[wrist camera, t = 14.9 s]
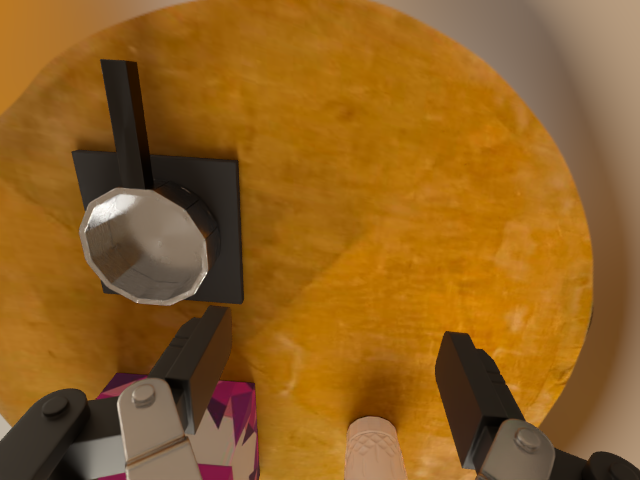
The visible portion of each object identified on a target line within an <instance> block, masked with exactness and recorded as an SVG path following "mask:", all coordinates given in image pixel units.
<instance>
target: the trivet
mask: <svg viewBox="0 0 640 480" xmlns="http://www.w3.org/2000/svg"><path fill="white" fill-rule="evenodd" d="M72 156H73V161H74V165H75V169H76V174H77V178H78V182H79V187H80V191H81V196H82V200H83V204H84V209H85V212H86V210H87V207H88V204H89V203H90V202H91V201H93V200H95V199H97V198H98V197H100V196H102V195H104V194H106V193H107V192H109V191H111V190H113V189H114V188H116V187H119V186H121V185H122V180H121V174H120V169H119V163H118V157H117V152H102V151H87V150H76V151H72ZM150 160H151V167H152V174H153V178H160V179H166V180H170V181H174V182H176V183H179V184H181V185H183V186H185V187H187V188H188V189H190V190H191V191H193V192H194V193H195V194H197V195H198V196H199V197H200V198H201V199H202V200H203V201H204V202H205V203H206V204H207V206H208V207H209V208H210V210H211V211H212V213H213V215H214V216H215V218H216V221H217V223H218V226H219V230H220V235H221V249H220V256H219V258H218V260H217V262H216V264H215V265H214V266H213V268H212V270H211V271H210V273H209V275H208V276H207V278H206V279H205V281H204V282H203V283H202V285H201V286H200V288H199V289H198V290H197V292H196V293H195V294H194V295H192V296H190V297H188V298H185V299H183V300H194V301H207V302H219V303H232V304H242V302H243V300H244V292H243V267H242V242H241V217H240V192H239V167H238V160H223V159H208V158H193V157H178V156H163V155H150ZM101 283H102V288H103V292H104V293H108V294H119V293H117V292H115V291H113V290H111V289H109V288H108V287H109V286H108V287H107V286H106V285H105V284H104V283H103V281H102V280H101ZM120 295H121V294H120Z"/></svg>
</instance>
